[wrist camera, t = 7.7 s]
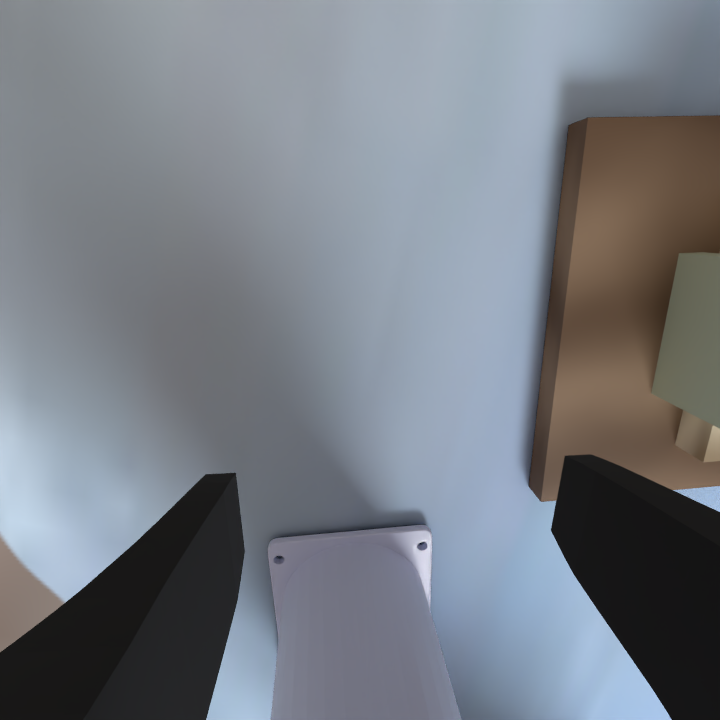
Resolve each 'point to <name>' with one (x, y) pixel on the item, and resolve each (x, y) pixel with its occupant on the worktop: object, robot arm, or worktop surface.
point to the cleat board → (625, 298)
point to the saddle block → (692, 339)
